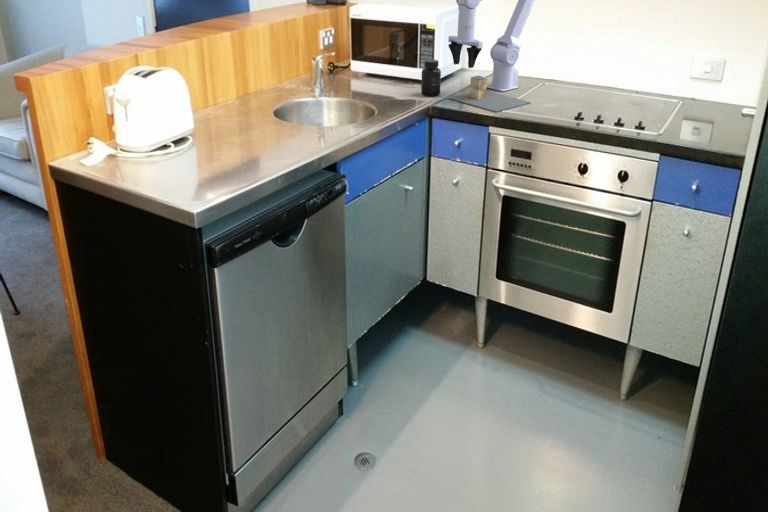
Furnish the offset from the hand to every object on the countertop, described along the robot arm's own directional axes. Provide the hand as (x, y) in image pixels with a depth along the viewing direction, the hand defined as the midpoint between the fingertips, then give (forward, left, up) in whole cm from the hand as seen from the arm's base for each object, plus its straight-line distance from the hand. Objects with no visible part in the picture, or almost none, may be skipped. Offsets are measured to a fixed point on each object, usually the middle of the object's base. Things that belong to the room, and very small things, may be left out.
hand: (463, 65), depth 252 cm
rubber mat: (0, +13, -10) cm, 16 cm away
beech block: (0, +8, -10) cm, 12 cm away
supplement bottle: (+10, -6, -10) cm, 15 cm away
